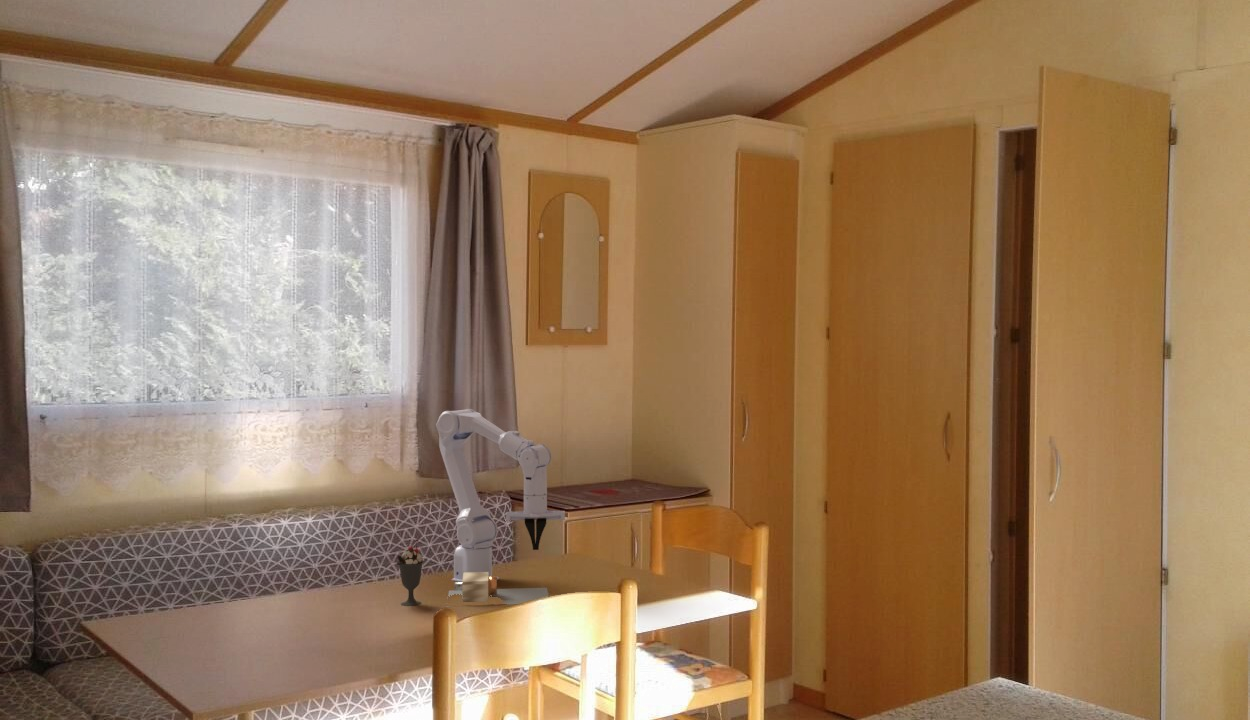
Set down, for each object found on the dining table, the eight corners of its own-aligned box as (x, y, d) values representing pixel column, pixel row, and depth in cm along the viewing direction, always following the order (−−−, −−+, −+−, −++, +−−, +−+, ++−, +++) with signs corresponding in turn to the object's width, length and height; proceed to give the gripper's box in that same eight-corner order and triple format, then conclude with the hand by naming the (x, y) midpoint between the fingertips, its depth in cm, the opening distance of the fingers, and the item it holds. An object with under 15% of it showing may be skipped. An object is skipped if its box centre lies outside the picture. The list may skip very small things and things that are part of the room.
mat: (446, 607, 261) (446, 606, 261) (449, 591, 277) (449, 590, 277) (549, 604, 263) (549, 603, 263) (547, 588, 279) (547, 587, 279)
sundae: (428, 601, 267) (428, 538, 266) (420, 608, 260) (420, 543, 260) (401, 600, 267) (401, 537, 267) (393, 607, 261) (392, 543, 260)
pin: (454, 597, 266) (454, 579, 266) (455, 593, 271) (454, 575, 271) (496, 596, 268) (496, 578, 267) (496, 592, 272) (496, 574, 272)
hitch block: (462, 603, 264) (462, 581, 264) (463, 593, 274) (463, 572, 274) (488, 602, 265) (488, 581, 264) (488, 592, 275) (488, 571, 274)
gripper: (505, 497, 273) (505, 552, 274) (565, 496, 275) (565, 551, 275) (505, 493, 280) (506, 547, 281) (564, 491, 282) (564, 546, 282)
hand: (535, 549), depth 278 cm, fingers closed
